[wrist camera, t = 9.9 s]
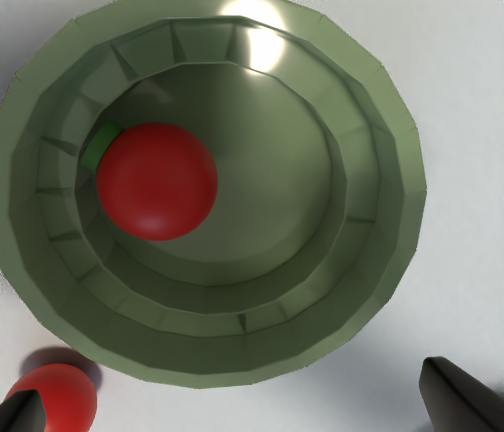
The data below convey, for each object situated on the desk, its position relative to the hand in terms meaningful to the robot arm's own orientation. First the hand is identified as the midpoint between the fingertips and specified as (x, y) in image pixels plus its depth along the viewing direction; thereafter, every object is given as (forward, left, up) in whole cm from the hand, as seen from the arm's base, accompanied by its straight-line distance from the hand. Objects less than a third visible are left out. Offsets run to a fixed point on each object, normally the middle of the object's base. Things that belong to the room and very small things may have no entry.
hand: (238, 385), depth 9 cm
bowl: (+1, 0, -10) cm, 10 cm away
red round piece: (+1, +1, -7) cm, 7 cm away
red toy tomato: (-10, +9, -10) cm, 17 cm away
